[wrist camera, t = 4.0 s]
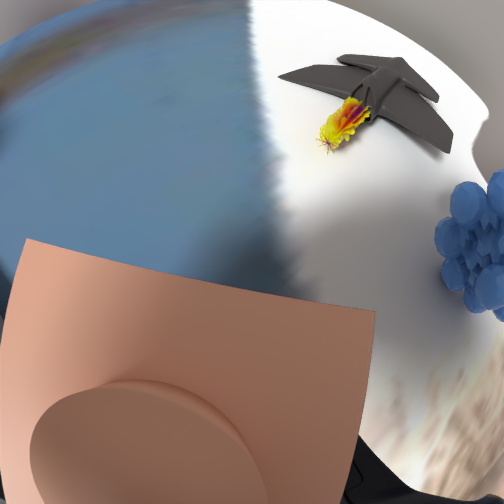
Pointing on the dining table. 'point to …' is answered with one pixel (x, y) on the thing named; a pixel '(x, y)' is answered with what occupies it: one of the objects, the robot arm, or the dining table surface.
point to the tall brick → (173, 388)
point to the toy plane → (375, 97)
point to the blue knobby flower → (475, 245)
